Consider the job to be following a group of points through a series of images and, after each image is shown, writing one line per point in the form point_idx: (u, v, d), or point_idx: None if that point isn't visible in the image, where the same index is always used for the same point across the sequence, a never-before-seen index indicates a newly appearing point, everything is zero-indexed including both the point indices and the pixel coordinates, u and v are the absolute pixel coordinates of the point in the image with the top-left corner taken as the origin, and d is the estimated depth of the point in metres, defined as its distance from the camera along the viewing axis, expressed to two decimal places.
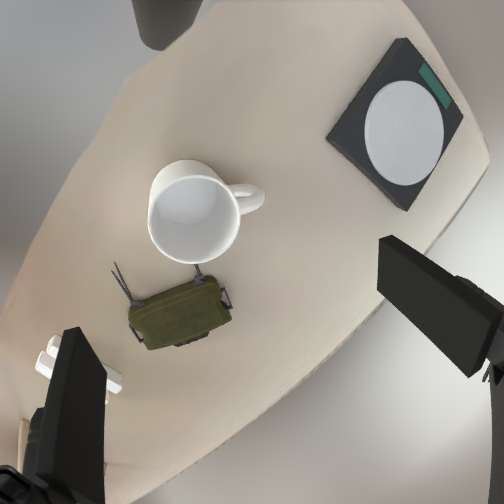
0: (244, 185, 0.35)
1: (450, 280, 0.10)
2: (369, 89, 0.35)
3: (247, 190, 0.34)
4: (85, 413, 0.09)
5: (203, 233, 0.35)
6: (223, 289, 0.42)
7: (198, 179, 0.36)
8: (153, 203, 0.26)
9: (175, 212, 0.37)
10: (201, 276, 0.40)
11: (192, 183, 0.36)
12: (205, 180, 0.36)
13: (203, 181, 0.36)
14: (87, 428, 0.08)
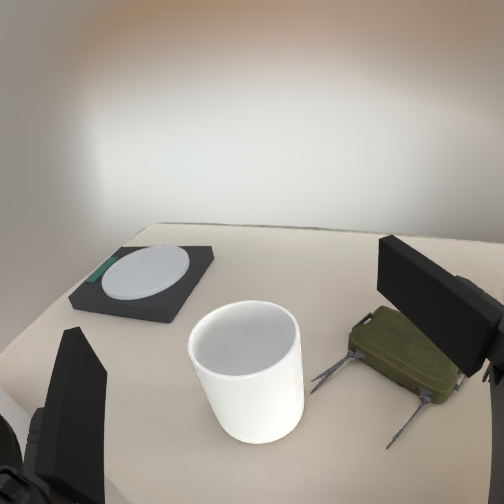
0: None
1: (450, 280, 0.10)
2: (116, 305, 0.43)
3: None
4: (85, 413, 0.09)
5: None
6: (354, 329, 0.33)
7: None
8: (230, 376, 0.19)
9: None
10: (350, 352, 0.31)
11: None
12: None
13: None
14: (87, 428, 0.08)
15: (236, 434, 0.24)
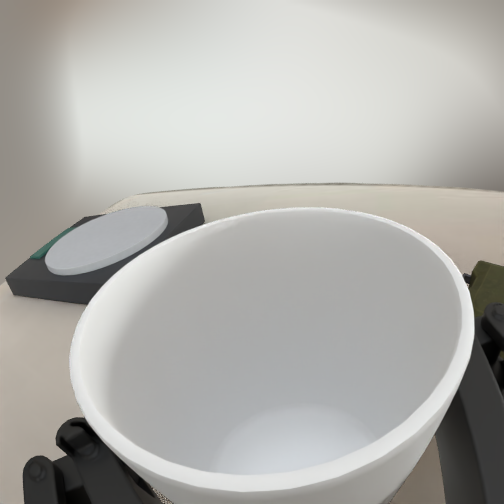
0: None
1: None
2: (56, 283, 0.26)
3: None
4: None
5: (356, 362, 0.11)
6: None
7: (249, 460, 0.12)
8: (218, 480, 0.03)
9: None
10: None
11: (264, 469, 0.11)
12: (245, 447, 0.13)
13: (249, 448, 0.13)
14: None
15: None
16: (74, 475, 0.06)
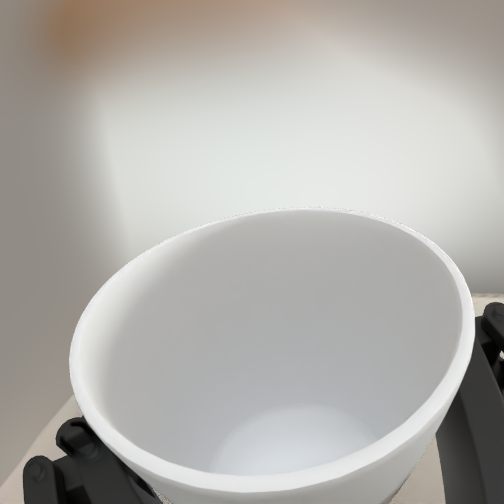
0: None
1: None
2: None
3: None
4: None
5: (356, 362, 0.11)
6: None
7: (249, 461, 0.12)
8: (218, 481, 0.03)
9: None
10: None
11: (264, 469, 0.11)
12: (245, 447, 0.13)
13: (249, 448, 0.13)
14: None
15: None
16: (74, 475, 0.06)
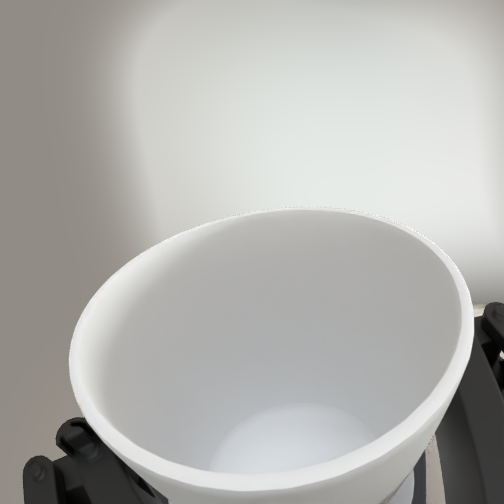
0: None
1: None
2: None
3: None
4: None
5: (356, 361, 0.11)
6: None
7: (249, 460, 0.12)
8: (217, 480, 0.03)
9: None
10: None
11: (263, 469, 0.11)
12: (245, 446, 0.13)
13: (249, 448, 0.13)
14: None
15: None
16: (74, 475, 0.06)
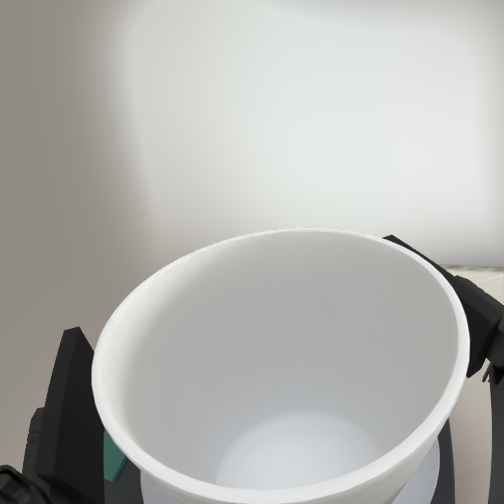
0: None
1: (450, 280, 0.10)
2: None
3: None
4: (85, 413, 0.09)
5: (358, 372, 0.12)
6: None
7: (254, 465, 0.12)
8: (241, 495, 0.03)
9: None
10: None
11: (269, 474, 0.12)
12: (251, 452, 0.13)
13: (255, 454, 0.13)
14: (87, 428, 0.08)
15: None
16: None
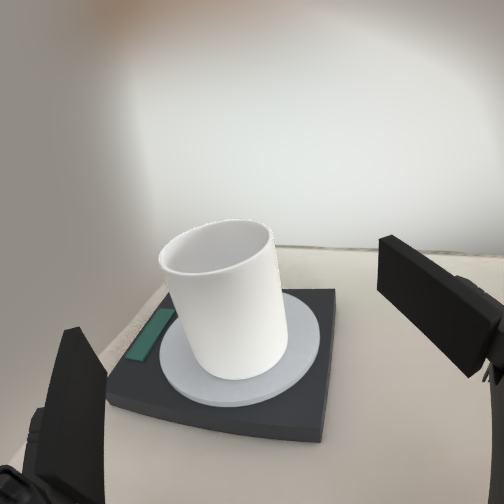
0: None
1: (450, 280, 0.10)
2: (205, 417, 0.22)
3: None
4: (85, 413, 0.09)
5: None
6: None
7: None
8: (198, 273, 0.19)
9: None
10: None
11: None
12: None
13: None
14: (87, 428, 0.08)
15: (212, 366, 0.23)
16: None
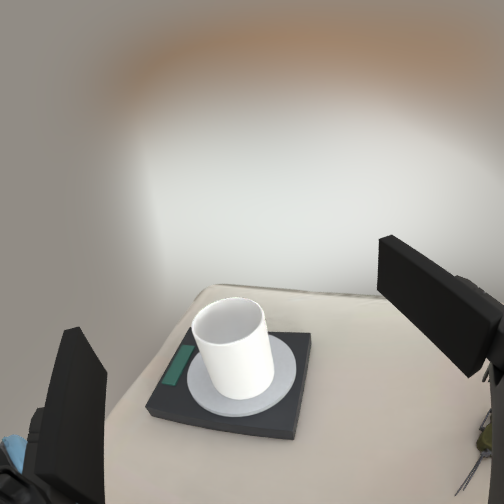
0: None
1: (450, 280, 0.10)
2: (221, 423, 0.35)
3: None
4: (85, 413, 0.09)
5: None
6: (481, 428, 0.26)
7: None
8: (219, 344, 0.32)
9: None
10: (483, 453, 0.23)
11: None
12: None
13: None
14: (87, 428, 0.08)
15: (225, 391, 0.36)
16: None
